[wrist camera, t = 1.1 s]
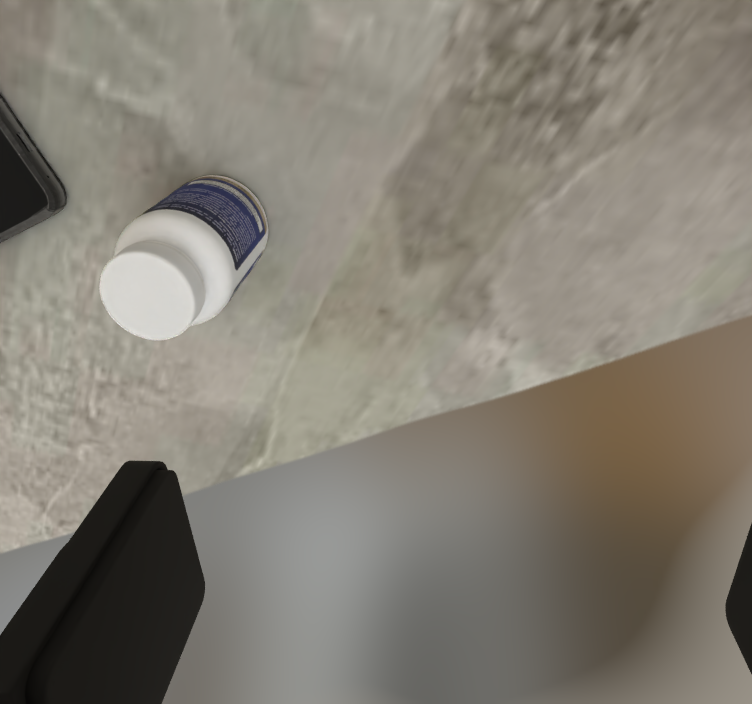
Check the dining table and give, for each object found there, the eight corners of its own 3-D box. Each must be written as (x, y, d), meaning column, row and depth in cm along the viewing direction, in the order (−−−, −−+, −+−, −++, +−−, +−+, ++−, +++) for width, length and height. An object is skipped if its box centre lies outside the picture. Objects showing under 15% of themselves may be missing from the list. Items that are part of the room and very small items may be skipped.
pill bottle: (173, 162, 32) (77, 219, 23) (275, 185, 32) (216, 250, 23) (170, 258, 34) (83, 341, 26) (264, 279, 35) (208, 367, 26)
